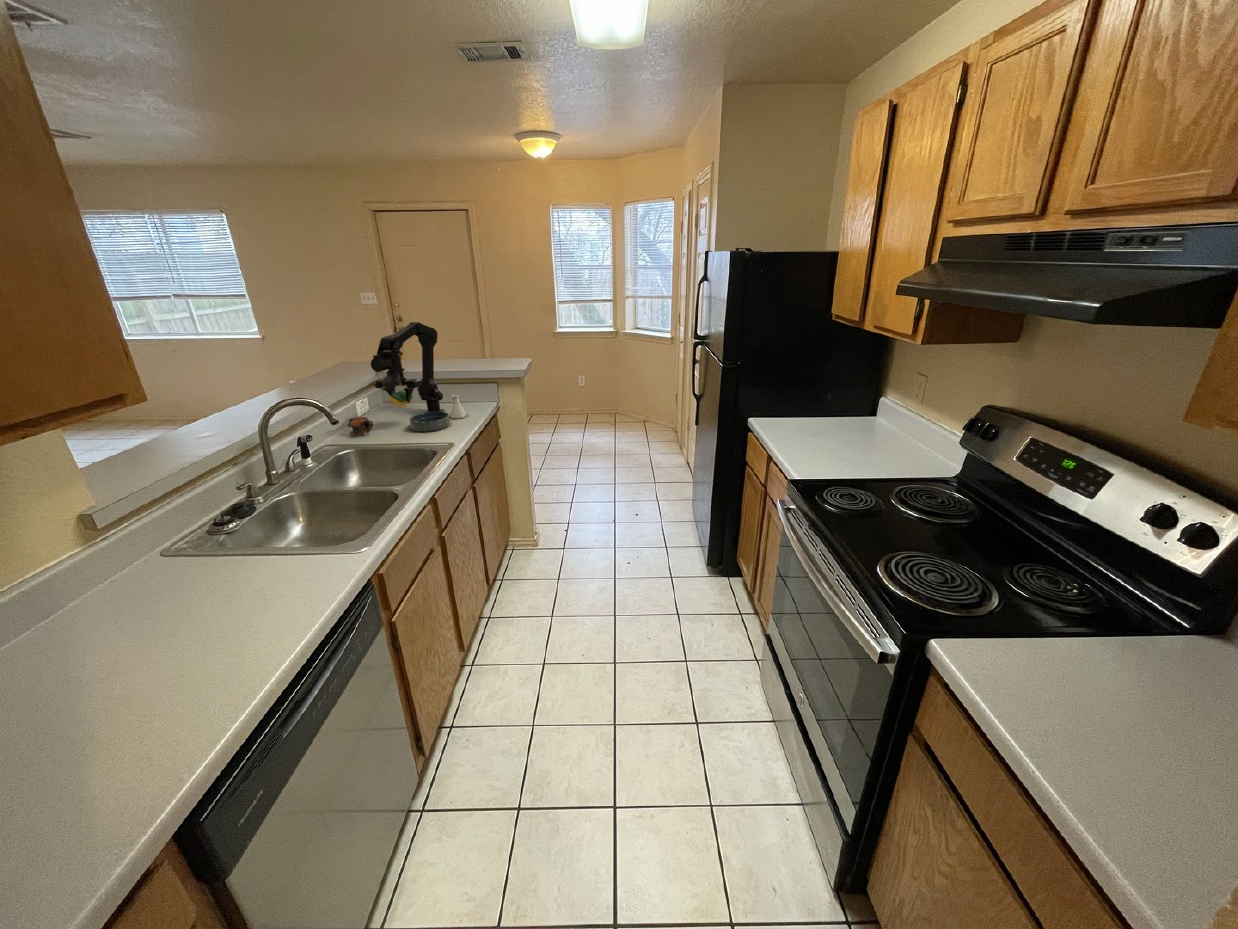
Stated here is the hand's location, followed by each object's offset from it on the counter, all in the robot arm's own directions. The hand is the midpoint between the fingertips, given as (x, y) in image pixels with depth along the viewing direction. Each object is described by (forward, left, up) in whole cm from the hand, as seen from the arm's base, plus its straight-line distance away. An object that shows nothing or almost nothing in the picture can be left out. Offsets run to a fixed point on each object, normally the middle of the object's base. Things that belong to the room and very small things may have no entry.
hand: (402, 402), depth 221 cm
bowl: (+2, +12, -10) cm, 16 cm away
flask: (-13, +18, -10) cm, 25 cm away
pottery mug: (+12, -14, -10) cm, 21 cm away
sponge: (0, -1, +1) cm, 1 cm away
